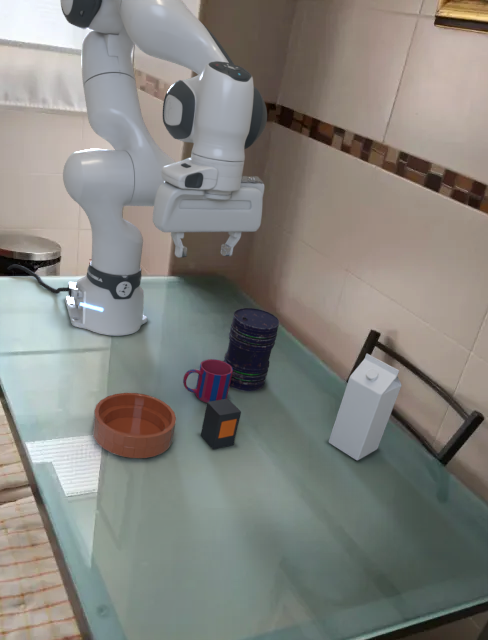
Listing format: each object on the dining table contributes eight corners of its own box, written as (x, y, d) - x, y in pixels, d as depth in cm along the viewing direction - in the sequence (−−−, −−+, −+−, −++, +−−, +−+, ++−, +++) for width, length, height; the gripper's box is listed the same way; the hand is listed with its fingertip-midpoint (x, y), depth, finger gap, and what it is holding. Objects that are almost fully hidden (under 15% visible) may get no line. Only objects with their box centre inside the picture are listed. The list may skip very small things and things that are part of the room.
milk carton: (348, 432, 133) (376, 349, 123) (377, 450, 129) (409, 366, 119) (327, 442, 128) (355, 357, 118) (357, 461, 124) (388, 375, 114)
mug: (230, 404, 134) (236, 375, 130) (183, 404, 131) (188, 374, 127) (222, 387, 139) (227, 359, 136) (176, 386, 136) (181, 358, 133)
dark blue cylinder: (252, 367, 149) (266, 307, 141) (272, 390, 142) (288, 327, 134) (213, 369, 145) (225, 308, 137) (231, 393, 138) (245, 329, 130)
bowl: (81, 420, 120) (83, 397, 118) (152, 410, 127) (155, 388, 125) (109, 467, 110) (112, 443, 108) (185, 453, 117) (189, 430, 115)
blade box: (200, 435, 123) (207, 401, 119) (220, 431, 125) (228, 398, 121) (213, 449, 120) (220, 415, 116) (233, 445, 122) (241, 411, 118)
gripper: (255, 172, 116) (242, 249, 123) (152, 167, 106) (144, 251, 113) (276, 181, 112) (261, 260, 119) (170, 176, 102) (161, 263, 109)
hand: (203, 255), depth 116 cm, fingers open, 8 cm apart
